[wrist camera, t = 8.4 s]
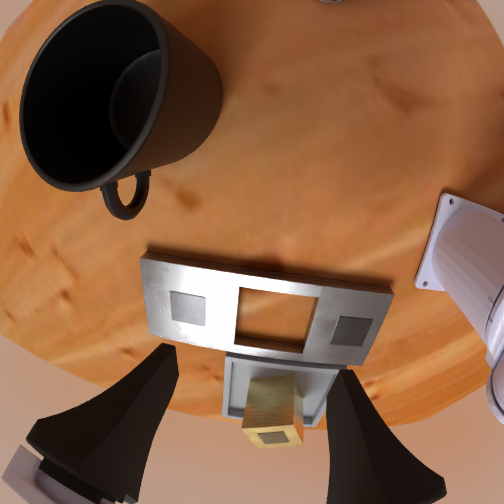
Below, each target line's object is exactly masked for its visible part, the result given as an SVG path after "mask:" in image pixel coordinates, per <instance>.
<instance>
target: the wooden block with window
mask: <svg viewBox="0 0 504 504" xmlns="http://www.w3.org/2000/svg"><path fill="white" fill-rule="evenodd" d="M303 420H304V413H303V396H302V393H301V391H300V388H299V385H298V382H297V380H296V377H295V374H290V375H283V376H277V377H270V378H262V379H254V380H250V382H249V388H248V394H247V400H246V405H245V411H244V417H243V423H242V430H243V431H244V432H245V434H246V435H247V436H248V437H249V439H250V440H251V441H252V442H253V443H254V445H255V446H256V447H257V448H272V447H286V446H296V445H303Z"/></svg>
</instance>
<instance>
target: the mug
mask: <svg viewBox="0 0 504 504" xmlns="http://www.w3.org/2000/svg"><path fill="white" fill-rule="evenodd" d="M221 104H222V85H221V80H220V76H219V73H218V71H217V69H216V67H215V65H214V64H213V62H212V61H211V60H210V58H209V57H208V56H207V55H205V54H204V53H203V52H202V51H201V50H200V49H199V48H198V47H197V46H196V45H195V44H193V43H192V42H191V41H190V40H189V39H188V38H187V37H185V36H184V35H183V34H182V33H181V32H180V31H178V30H177V29H176V28H175V27H174V26H172V25H171V24H170V23H169V22H168V21H166V20H165V19H164V18H163V17H161V16H160V15H159V14H158V13H156V12H155V11H154V10H152V9H151V8H150V7H148V6H147V5H145V4H143V3H141V2H138V1H136V0H101V1H98V2H95V3H92V4H90V5H87V6H85V7H83V8H82V9H80V10H78V11H76V12H75V13H73V14H72V15H71V16H69V17H68V18H67V19H65V20H64V21H63V22H62V23H61V24H60V25H59V26H58V27H57V28H56V29H55V30H54V31H53V32H52V33H51V34H50V36H49V37H48V38H47V39H46V41H45V42H44V43H43V45H42V46H41V48H40V49H39V51H38V53H37V54H36V56H35V58H34V60H33V62H32V64H31V66H30V69H29V71H28V74H27V76H26V79H25V83H24V86H23V90H22V95H21V101H20V111H19V124H20V134H21V140H22V144H23V147H24V150H25V153H26V156H27V158H28V160H29V162H30V164H31V165H32V167H33V169H34V170H35V171H36V173H37V174H38V175H39V176H40V177H41V178H42V179H43V180H44V181H46V182H47V183H48V184H50V185H51V186H53V187H55V188H57V189H60V190H64V191H70V192H83V191H88V190H92V189H95V188H98V187H100V191H102V194H103V198H104V202H105V205H106V207H107V208H108V210H109V211H110V213H111V214H112V215H113V216H114V217H116V218H118V219H122V220H130V219H133V218H135V217H136V216H137V215H138V214H139V212H140V211H141V209H142V208H143V206H144V204H145V202H146V199H147V196H148V191H149V176H151V169H153V168H157V167H160V166H163V165H167V164H170V163H173V162H176V161H179V160H181V159H183V158H184V157H186V156H188V155H189V154H191V153H192V152H193V151H195V150H196V149H197V148H198V147H199V146H200V145H201V144H202V143H203V142H204V141H205V139H206V138H207V137H208V136H209V134H210V132H211V131H212V129H213V127H214V125H215V123H216V121H217V119H218V116H219V113H220V109H221ZM132 175H135V177H136V178H137V186H136V192H135V195H134V197H133V199H132V201H131V202H130V203H129V204H128V205H126V206H124V205H123V204H122V202H121V200H120V198H119V195H118V191H117V188H118V182H117V180H120V179H123V178H126V177H129V176H132Z"/></svg>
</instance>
